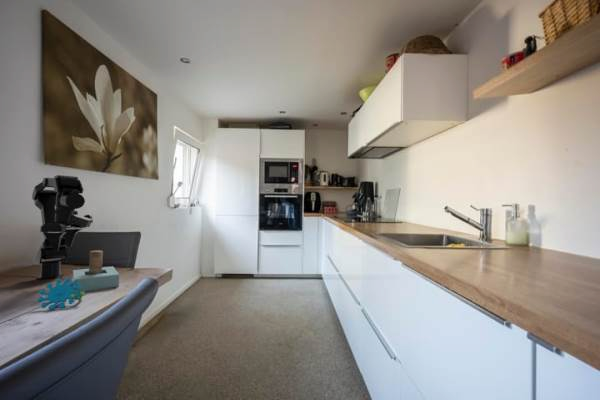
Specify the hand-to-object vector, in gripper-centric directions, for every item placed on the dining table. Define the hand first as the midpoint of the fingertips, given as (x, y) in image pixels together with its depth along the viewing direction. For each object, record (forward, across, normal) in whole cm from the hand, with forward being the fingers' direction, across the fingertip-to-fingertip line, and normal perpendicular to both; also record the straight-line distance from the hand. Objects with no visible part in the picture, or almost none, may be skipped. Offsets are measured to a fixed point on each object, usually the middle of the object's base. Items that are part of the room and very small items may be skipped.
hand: (63, 248), depth 104 cm
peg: (+13, -4, -12) cm, 18 cm away
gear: (+13, -27, -12) cm, 32 cm away
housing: (+13, -4, -12) cm, 18 cm away
